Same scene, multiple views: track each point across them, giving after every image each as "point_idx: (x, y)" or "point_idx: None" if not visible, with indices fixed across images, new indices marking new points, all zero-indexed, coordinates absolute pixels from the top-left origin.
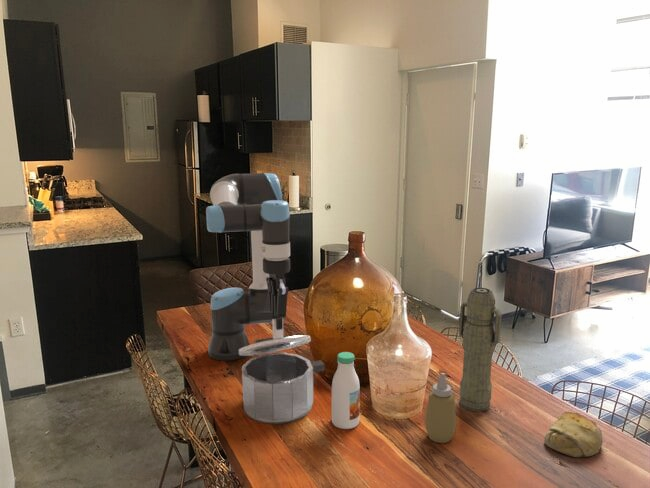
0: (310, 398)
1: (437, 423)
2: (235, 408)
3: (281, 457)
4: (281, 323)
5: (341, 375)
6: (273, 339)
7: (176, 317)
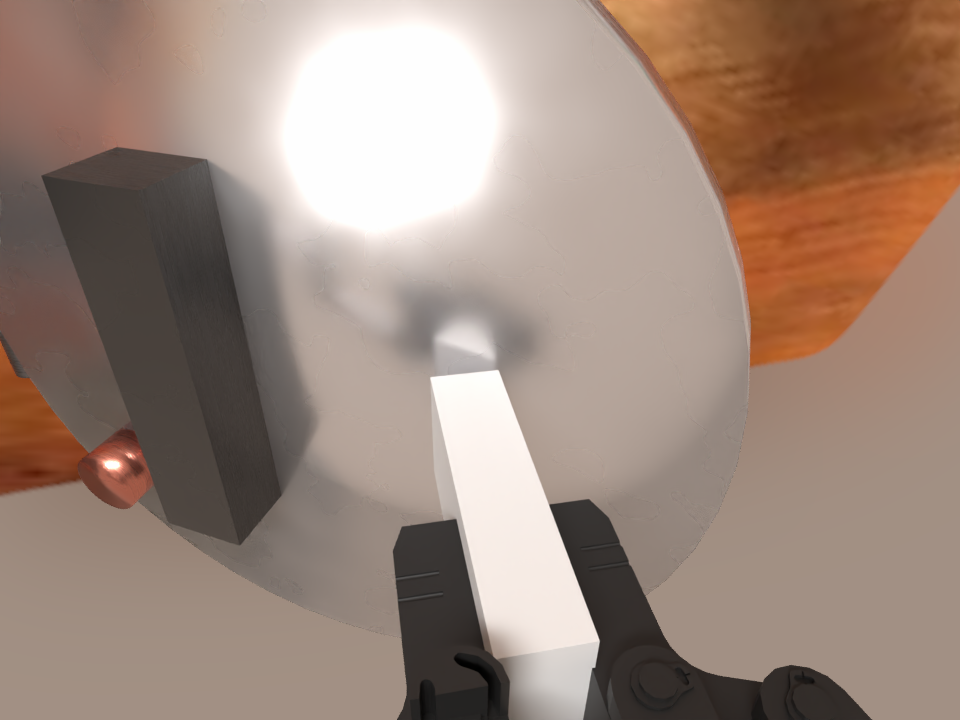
0: None
1: None
2: None
3: (778, 237)
4: (633, 587)
5: None
6: (690, 551)
7: None
